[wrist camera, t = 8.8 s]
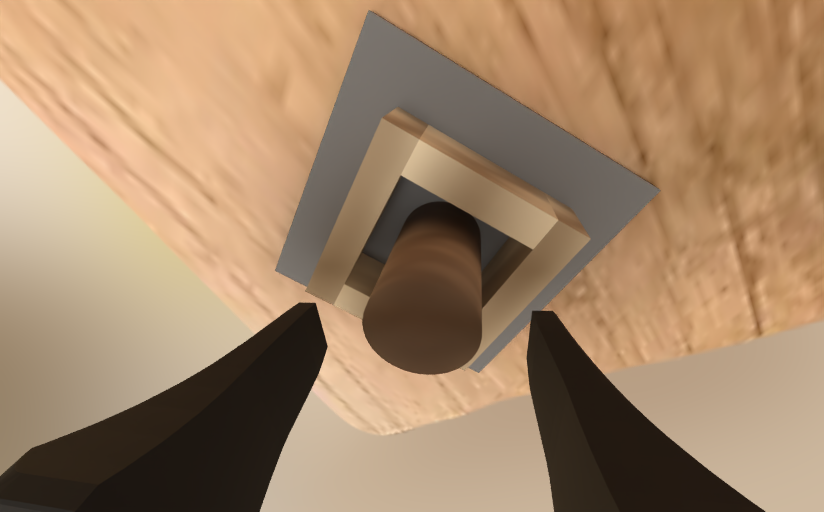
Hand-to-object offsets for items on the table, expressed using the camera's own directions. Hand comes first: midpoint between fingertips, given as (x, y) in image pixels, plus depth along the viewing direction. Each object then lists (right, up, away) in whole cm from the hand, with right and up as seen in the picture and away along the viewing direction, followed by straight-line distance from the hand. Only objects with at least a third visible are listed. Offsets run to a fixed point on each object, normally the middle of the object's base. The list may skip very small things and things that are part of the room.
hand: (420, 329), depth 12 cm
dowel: (+1, +3, +6) cm, 7 cm away
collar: (+1, +3, +6) cm, 7 cm away
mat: (+1, +4, +6) cm, 7 cm away
